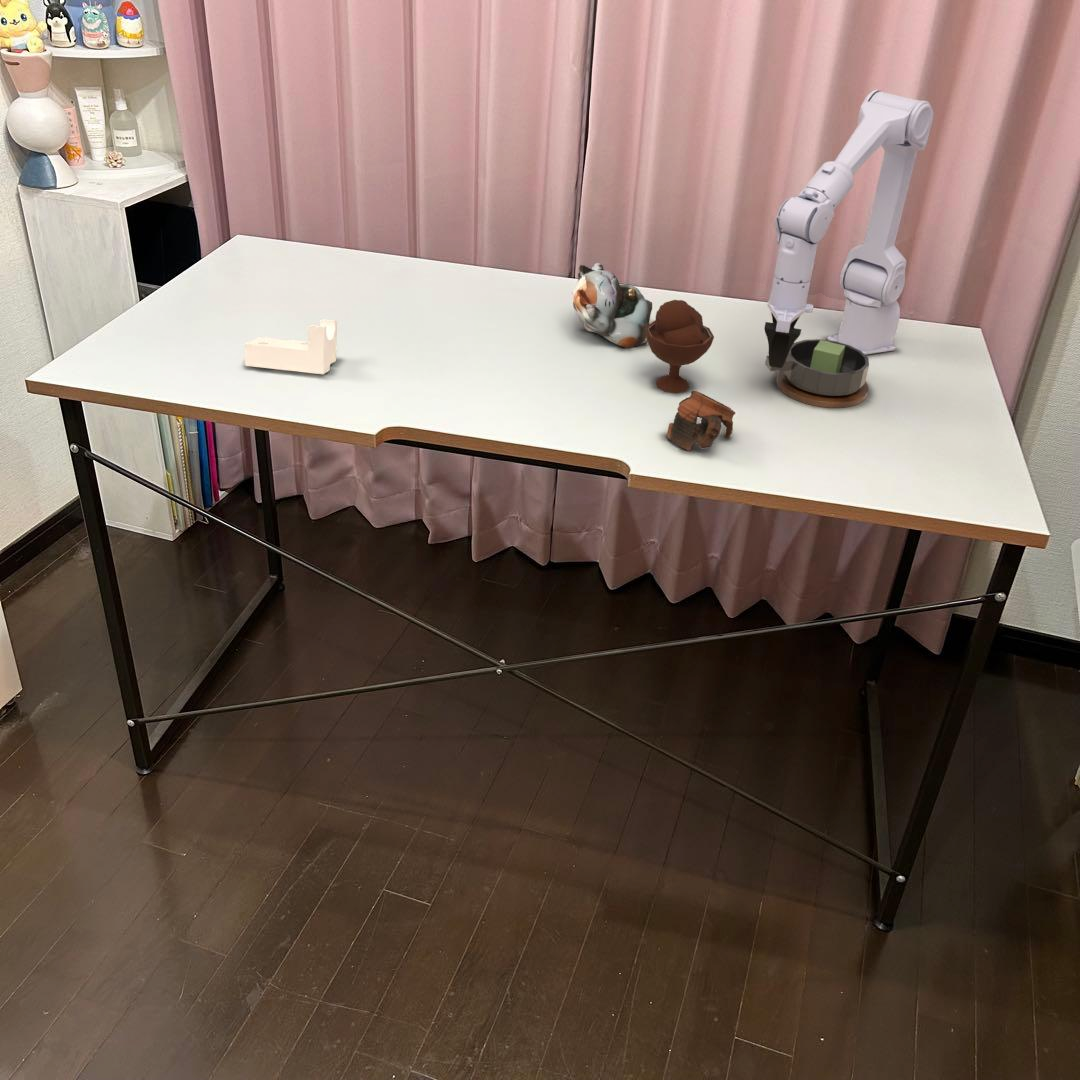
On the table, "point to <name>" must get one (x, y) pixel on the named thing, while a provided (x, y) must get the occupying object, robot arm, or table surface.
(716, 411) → the pottery mug
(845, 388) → the grey frying pan
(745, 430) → the table surface
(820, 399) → the lazy susan
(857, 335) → the robot arm
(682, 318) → the ice cream bowl
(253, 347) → the bracket
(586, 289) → the lucky cat figurine
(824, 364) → the block
